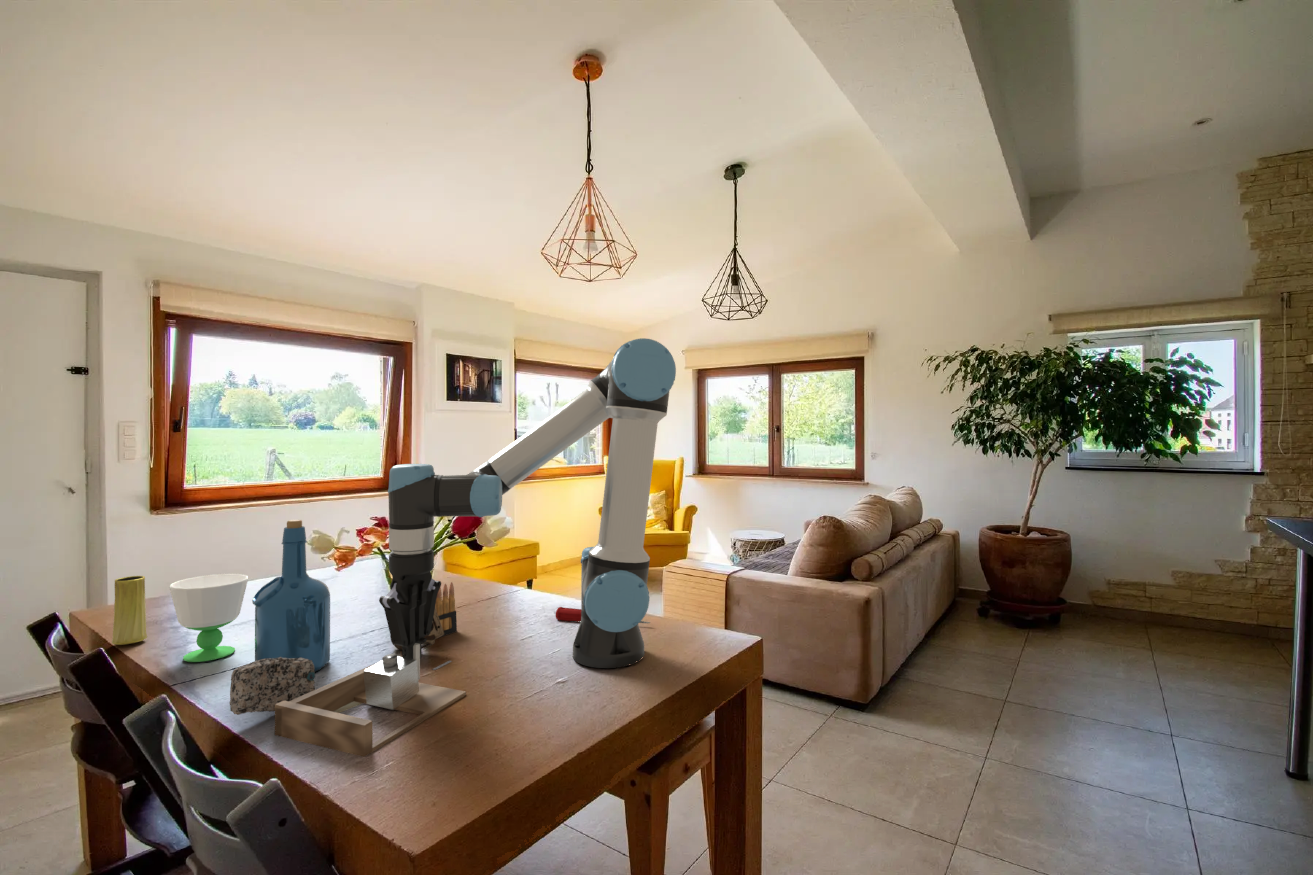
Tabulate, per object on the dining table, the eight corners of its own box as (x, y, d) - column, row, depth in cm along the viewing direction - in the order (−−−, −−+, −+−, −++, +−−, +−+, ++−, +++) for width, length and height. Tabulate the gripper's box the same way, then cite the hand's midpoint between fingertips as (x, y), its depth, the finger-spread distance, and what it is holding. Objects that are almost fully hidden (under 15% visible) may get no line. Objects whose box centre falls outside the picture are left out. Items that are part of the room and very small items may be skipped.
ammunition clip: (418, 644, 135) (418, 591, 135) (413, 642, 136) (413, 590, 136) (457, 631, 144) (457, 581, 144) (452, 630, 145) (452, 580, 145)
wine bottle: (320, 651, 130) (321, 514, 130) (339, 668, 120) (340, 520, 120) (245, 668, 120) (246, 520, 120) (259, 688, 110) (260, 527, 111)
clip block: (419, 691, 106) (416, 651, 105) (393, 709, 100) (389, 667, 100) (393, 686, 108) (390, 647, 107) (366, 703, 103) (362, 662, 102)
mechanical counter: (428, 662, 124) (428, 614, 124) (373, 657, 126) (374, 610, 126) (446, 650, 131) (447, 605, 131) (395, 646, 133) (395, 601, 133)
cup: (255, 653, 128) (256, 580, 128) (174, 671, 118) (175, 592, 118) (239, 639, 138) (240, 570, 138) (163, 654, 127) (163, 580, 128)
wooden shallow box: (466, 697, 107) (466, 669, 107) (364, 759, 86) (364, 725, 86) (387, 681, 114) (387, 655, 114) (274, 736, 93) (274, 704, 93)
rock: (303, 653, 107) (319, 651, 105) (302, 705, 105) (318, 703, 103) (228, 663, 96) (244, 660, 94) (224, 721, 94) (241, 720, 92)
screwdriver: (647, 632, 144) (647, 617, 144) (554, 622, 151) (554, 608, 151) (652, 627, 147) (652, 613, 147) (560, 618, 155) (560, 604, 155)
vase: (105, 642, 135) (105, 579, 135) (137, 634, 140) (137, 574, 140) (121, 646, 132) (121, 582, 132) (153, 638, 138) (153, 576, 138)
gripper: (420, 541, 114) (421, 662, 115) (367, 555, 103) (368, 689, 103) (452, 544, 112) (452, 668, 112) (401, 559, 100) (401, 697, 101)
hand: (412, 678), depth 108 cm, fingers closed
